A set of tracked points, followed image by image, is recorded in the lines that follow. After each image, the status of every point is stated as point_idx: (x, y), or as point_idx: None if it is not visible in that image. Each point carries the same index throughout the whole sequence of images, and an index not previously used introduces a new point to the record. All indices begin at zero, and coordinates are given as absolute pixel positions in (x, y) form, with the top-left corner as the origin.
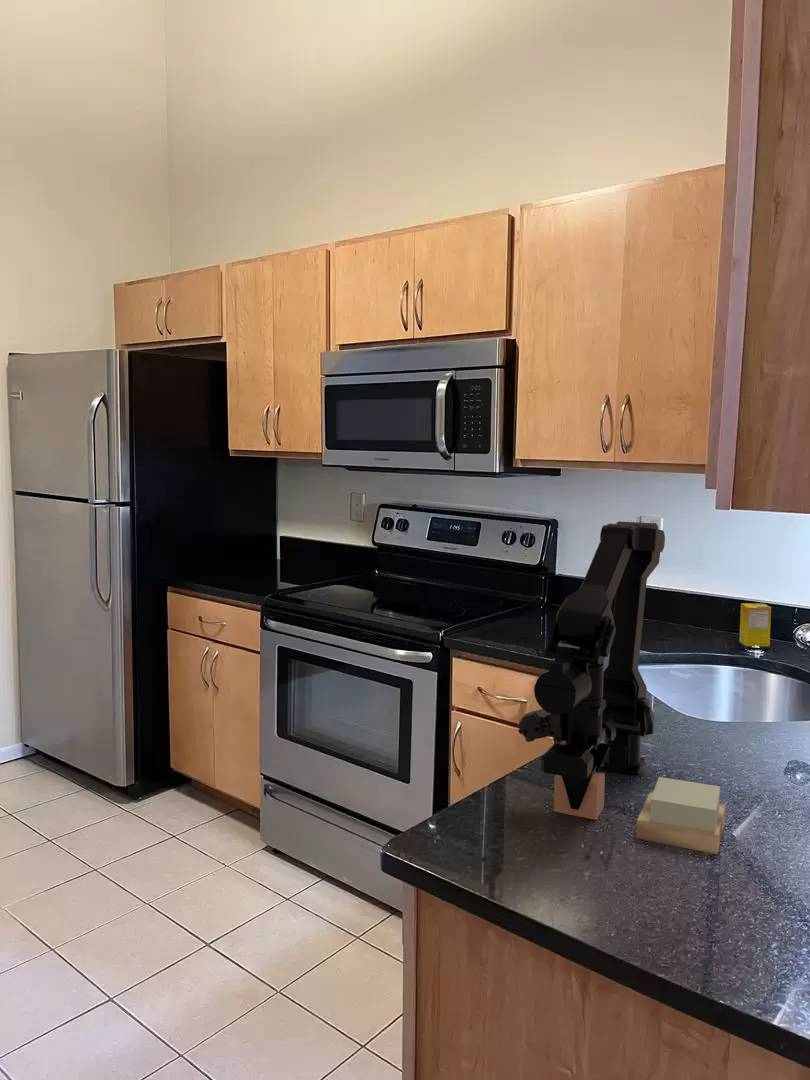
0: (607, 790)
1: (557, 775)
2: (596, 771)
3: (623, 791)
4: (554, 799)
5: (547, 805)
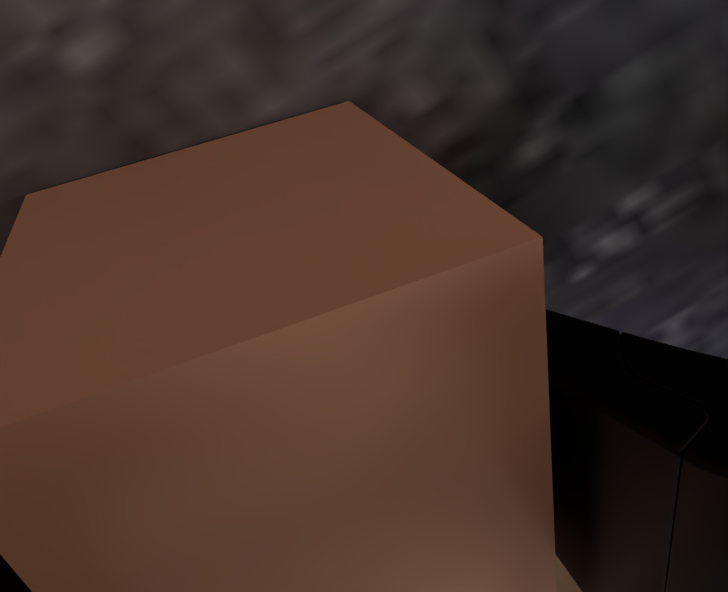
0: (678, 268)
1: (63, 426)
2: (575, 578)
3: (695, 341)
4: (8, 251)
5: (104, 50)
